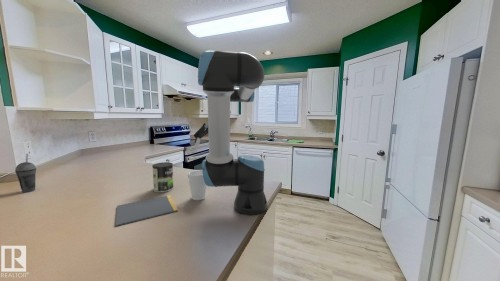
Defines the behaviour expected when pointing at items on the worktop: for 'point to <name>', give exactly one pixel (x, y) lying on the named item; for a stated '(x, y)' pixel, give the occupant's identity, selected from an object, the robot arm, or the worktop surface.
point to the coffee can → (163, 177)
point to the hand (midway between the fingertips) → (206, 150)
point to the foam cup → (197, 184)
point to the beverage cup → (26, 175)
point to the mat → (144, 210)
